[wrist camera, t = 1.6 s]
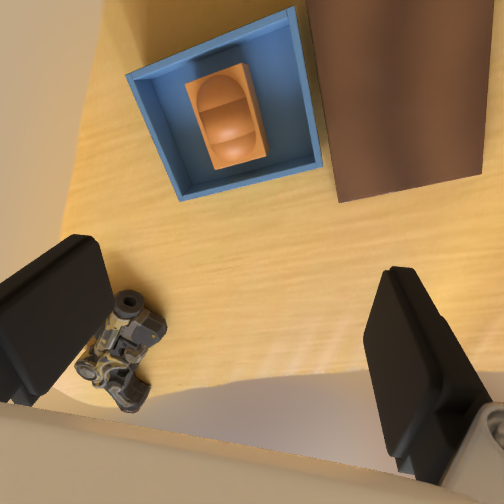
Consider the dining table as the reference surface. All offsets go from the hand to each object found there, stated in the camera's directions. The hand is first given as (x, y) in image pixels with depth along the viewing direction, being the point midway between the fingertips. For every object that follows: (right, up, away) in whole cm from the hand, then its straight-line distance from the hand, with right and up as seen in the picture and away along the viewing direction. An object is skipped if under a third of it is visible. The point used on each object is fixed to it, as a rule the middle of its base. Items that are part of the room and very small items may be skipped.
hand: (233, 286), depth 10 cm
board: (+13, +17, +16) cm, 27 cm away
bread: (-1, +15, +20) cm, 25 cm away
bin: (-1, +15, +20) cm, 25 cm away
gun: (-21, -15, +42) cm, 50 cm away
